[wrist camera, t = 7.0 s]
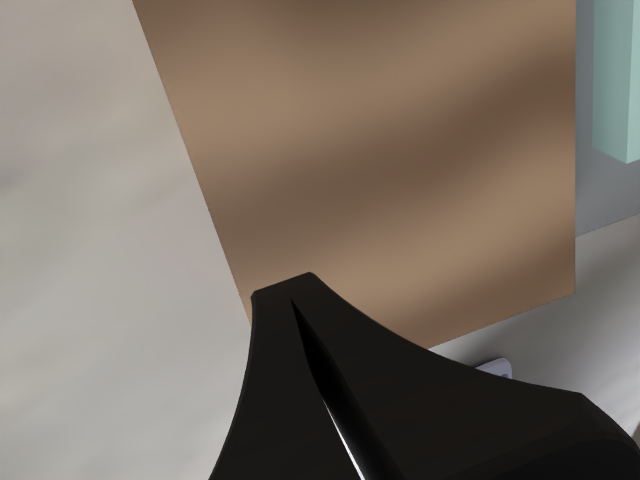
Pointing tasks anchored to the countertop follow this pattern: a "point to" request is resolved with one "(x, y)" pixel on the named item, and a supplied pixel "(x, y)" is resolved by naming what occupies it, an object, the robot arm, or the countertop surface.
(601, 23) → the pale teal block
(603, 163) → the mat
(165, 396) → the countertop surface
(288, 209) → the deck
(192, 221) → the countertop surface
